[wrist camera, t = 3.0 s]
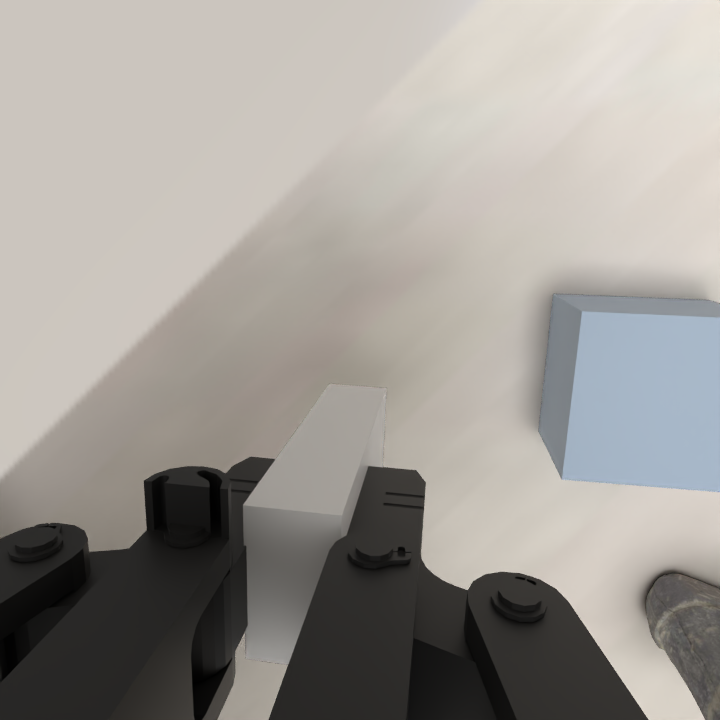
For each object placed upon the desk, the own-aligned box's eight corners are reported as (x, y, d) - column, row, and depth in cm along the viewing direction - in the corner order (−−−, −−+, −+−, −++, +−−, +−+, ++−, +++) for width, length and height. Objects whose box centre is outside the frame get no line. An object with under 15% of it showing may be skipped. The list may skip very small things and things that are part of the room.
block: (537, 430, 25) (561, 479, 20) (552, 293, 24) (582, 311, 19) (683, 440, 24) (743, 493, 19) (707, 299, 23) (779, 320, 18)
